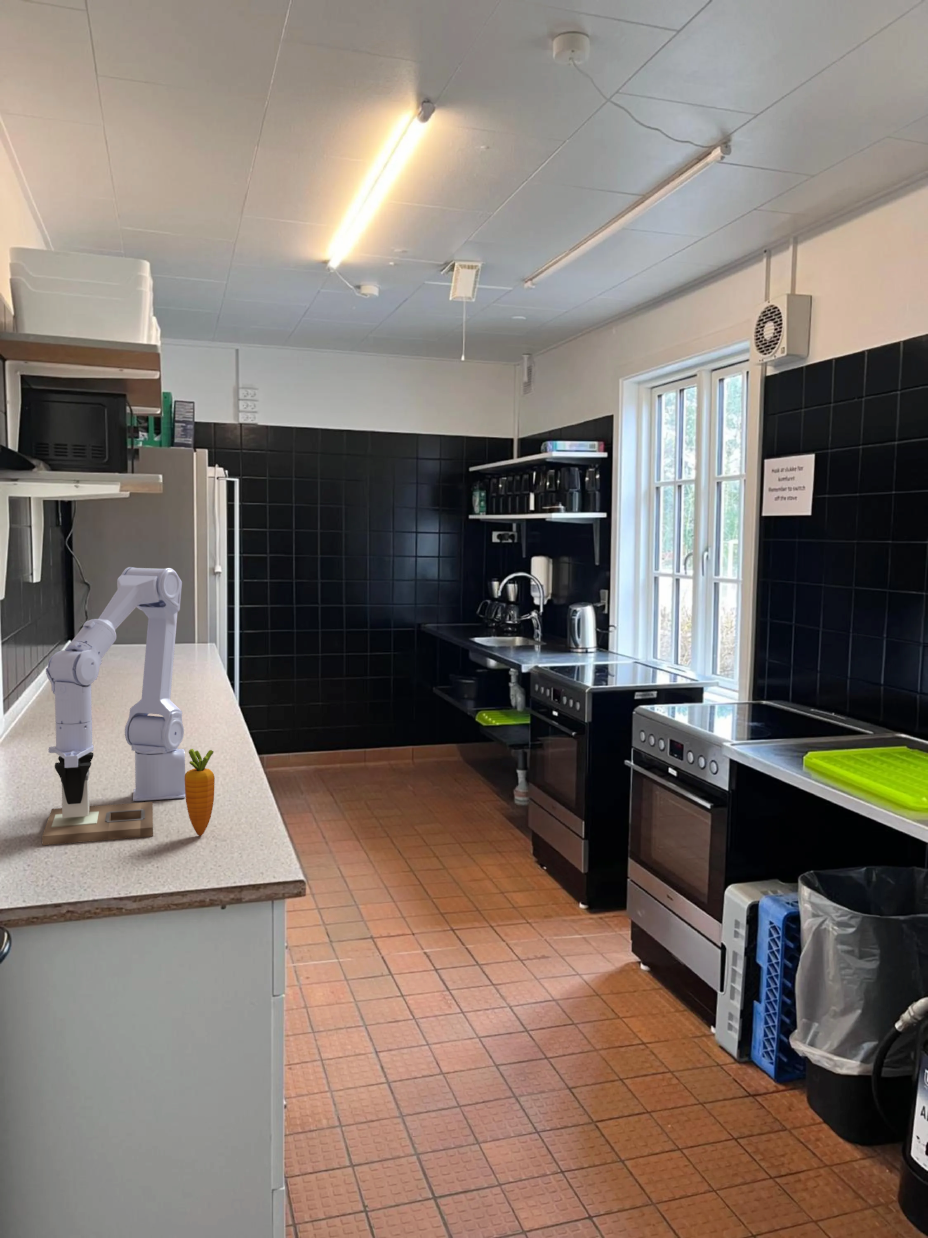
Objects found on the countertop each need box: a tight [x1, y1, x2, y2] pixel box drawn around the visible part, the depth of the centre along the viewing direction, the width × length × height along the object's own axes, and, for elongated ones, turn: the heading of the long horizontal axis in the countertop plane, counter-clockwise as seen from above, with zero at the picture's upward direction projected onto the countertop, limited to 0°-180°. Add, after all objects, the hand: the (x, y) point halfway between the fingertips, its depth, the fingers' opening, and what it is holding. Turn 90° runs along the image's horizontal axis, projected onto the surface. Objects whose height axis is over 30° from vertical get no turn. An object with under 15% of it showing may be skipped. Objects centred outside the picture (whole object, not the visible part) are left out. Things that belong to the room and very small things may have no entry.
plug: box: [60, 769, 90, 818], centre depth 160 cm, size 4×4×7 cm
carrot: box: [185, 748, 216, 837], centre depth 157 cm, size 5×5×15 cm
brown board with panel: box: [41, 801, 154, 846], centre depth 162 cm, size 17×16×2 cm
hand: (75, 799), depth 160 cm, fingers closed on plug, 4 cm apart
